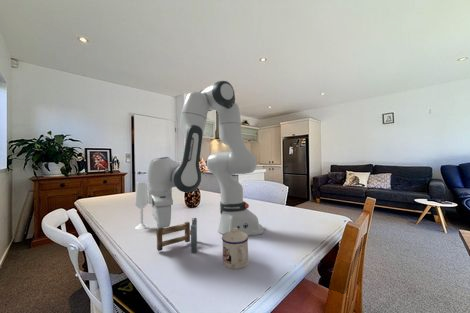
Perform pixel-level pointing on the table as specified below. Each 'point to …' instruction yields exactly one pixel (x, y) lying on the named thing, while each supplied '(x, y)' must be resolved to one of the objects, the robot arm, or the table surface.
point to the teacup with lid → (235, 249)
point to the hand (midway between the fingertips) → (160, 232)
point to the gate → (171, 230)
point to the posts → (193, 235)
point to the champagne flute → (141, 201)
